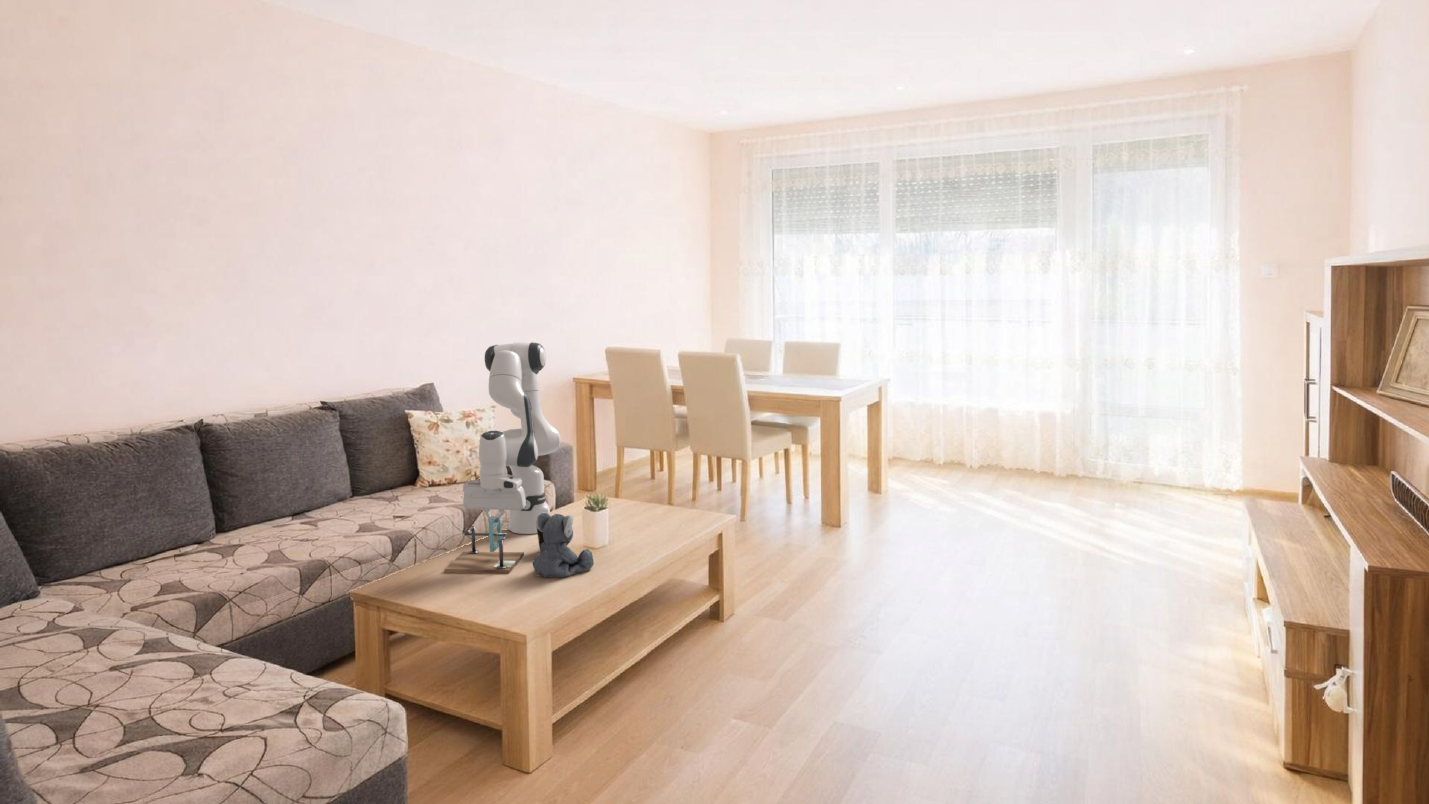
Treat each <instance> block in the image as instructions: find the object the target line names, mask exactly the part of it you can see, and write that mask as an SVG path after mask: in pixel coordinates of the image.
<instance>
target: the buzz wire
mask: <svg viewBox="0 0 1429 804" xmlns="http://www.w3.org/2000/svg"><path fill="white" fill-rule="evenodd" d="M463 535H464V536H471V550H469V551H468V552H469V553H470V554H476V553H478V552H480V551H479V550H477V549H476V546H477V545H476V536H481V537H483V536H484V537H486V536H488V537H489V532H488V533H486V532H483V533H482V532H476V526H475V525H471V526H470V527H469V529H467V531H466V532H464V534H463ZM497 536H502V539H501V540H499V547H498V552H499V560H500V565H499V566H497V569H505V568H506V565H503V552H504V542H503V541H504V540H505V539H506V538H507V537H509V533H504V532H503V533H497V532H496V533H495V532H494V537H497Z"/></svg>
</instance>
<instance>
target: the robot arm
mask: <svg viewBox="0 0 1429 804" xmlns="http://www.w3.org/2000/svg"><path fill="white" fill-rule="evenodd" d="M546 355H547V354H546V351H545V348H544V346H543V345H542V344H541V343H538V342H513V343H504V344H499V345H498V344H494V345H491V346H489V347H488V348H487V349H486V350H485V352H484V364H485V367H486V369H487V371H489V378H488V395H489V396H490V398H491V399H492V400H493V401H494V402H495V403H496V404H498V405H500V406H501V407H504V408H506V409H509V410H510V412H511V414H513V416H515V417H516V418H517V419H518V418H519V419H520V425H521V428H515V429H514V428H511V429H507V430H504V431H501V430H488V431H485V432H483V433H482V434H481V435H480V438H479V444H478V460H479V465H480V468H479V480H467V481H466V482H465V481H464V483H463V485H462V492H463V501H462V502H463V503H462V504H463V505H462V506H463V508H464V509H466V510H484V513H485V515H486V518H487V521H488V523H489V521H490V520H491V519H493V518H494V517H495V516H494V515H492V514H491V512H490V511H492V510H498V513H499V514H500V515H499V516H497V517H496V522H500V523H501V524H502V523H503V516H504V513H505V512H506V510H509V514H508V515H509V516H508V517H509V519H508V520H509V521H508V524H507V525H506V526H505V530H507V531H511V532H512V533H515V534H520V535H526V534H527V535H531V534H532V535H533V534H537V527H536V520H537V517H536V516H538V514H539V513H541V512H545V513H548V514H549V515H550V516H551V508H550V505H549V504H548V503H547V499H546V498H547V495H546V489H545V483H544V482H545V481H544V480H545V478H544V477H545V475H544V472H543V471H542V469H541V468H539V467H537V466H536V465H534V464H535V463H536V462H537V460H538V457H539V456H545V455H549V454H552V453H555V452H558V450H559V448H560V446H561V444H562V443H561V442H562V438H561V433H560V431H558V430H557V428H556V427H554V426H553V425H552V424H550V422H548V420H547V418H546V417H545V415H544V413H543V410H542V404H541V396H540V395H541V394H540V393H541V391H540V382H539V378H538V375H539V373H540V372H541V371H542V370H543V369H544V367H545V365H546V361H547V356H546ZM507 467H509V468H510V470H511V474H509V473H508V469H507Z"/></svg>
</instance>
